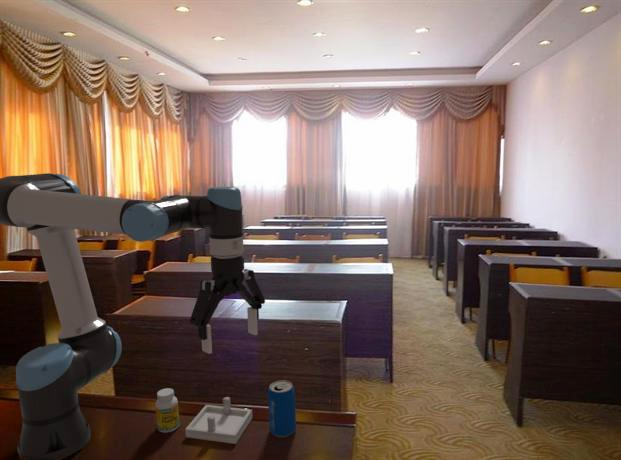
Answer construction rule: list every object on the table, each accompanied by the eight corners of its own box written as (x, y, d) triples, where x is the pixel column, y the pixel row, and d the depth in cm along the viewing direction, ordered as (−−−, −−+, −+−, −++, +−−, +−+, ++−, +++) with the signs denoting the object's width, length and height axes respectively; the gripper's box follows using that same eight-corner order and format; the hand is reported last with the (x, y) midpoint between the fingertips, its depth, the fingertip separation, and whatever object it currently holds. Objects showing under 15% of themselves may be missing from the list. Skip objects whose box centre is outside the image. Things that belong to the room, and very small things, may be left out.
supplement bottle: (176, 418, 118) (173, 384, 117) (182, 428, 114) (179, 393, 112) (155, 425, 115) (151, 390, 114) (160, 436, 111) (157, 400, 109)
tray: (186, 437, 110) (184, 417, 109) (206, 412, 121) (205, 394, 120) (235, 443, 107) (234, 423, 106) (252, 417, 117) (251, 399, 117)
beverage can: (264, 432, 111) (262, 386, 109) (283, 420, 116) (281, 376, 114) (282, 442, 107) (280, 395, 105) (301, 430, 112) (299, 385, 110)
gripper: (189, 268, 92) (195, 365, 96) (277, 247, 110) (279, 330, 114) (169, 262, 97) (175, 355, 100) (257, 244, 115) (259, 323, 119)
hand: (231, 342), depth 107 cm, fingers open, 13 cm apart
